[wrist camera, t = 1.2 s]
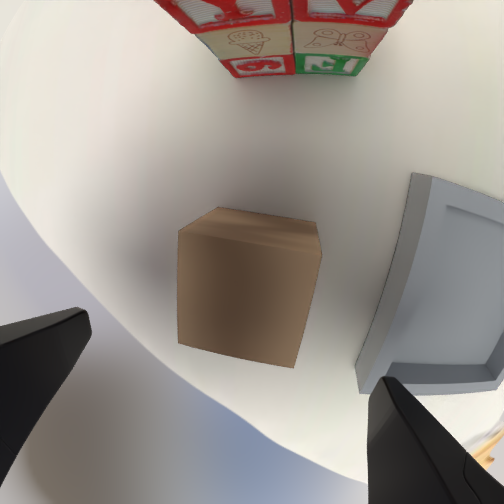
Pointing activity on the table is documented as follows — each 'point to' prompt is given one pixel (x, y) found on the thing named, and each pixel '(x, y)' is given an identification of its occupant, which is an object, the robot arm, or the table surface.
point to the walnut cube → (246, 284)
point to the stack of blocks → (288, 33)
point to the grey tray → (441, 296)
